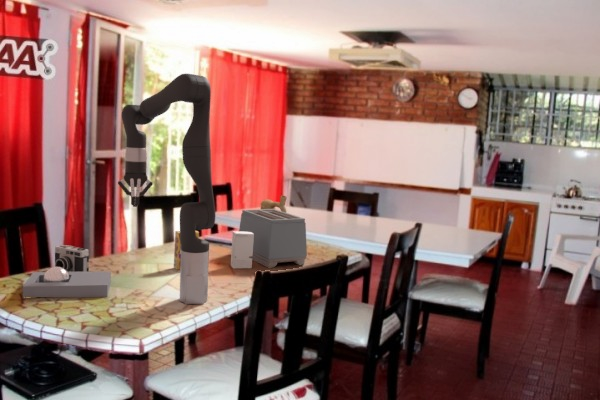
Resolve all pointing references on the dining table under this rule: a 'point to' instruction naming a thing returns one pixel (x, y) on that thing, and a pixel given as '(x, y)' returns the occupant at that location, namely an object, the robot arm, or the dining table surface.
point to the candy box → (179, 249)
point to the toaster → (275, 236)
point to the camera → (72, 258)
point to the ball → (56, 275)
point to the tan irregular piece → (274, 204)
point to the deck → (69, 285)
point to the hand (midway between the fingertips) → (135, 206)
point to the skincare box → (242, 249)
